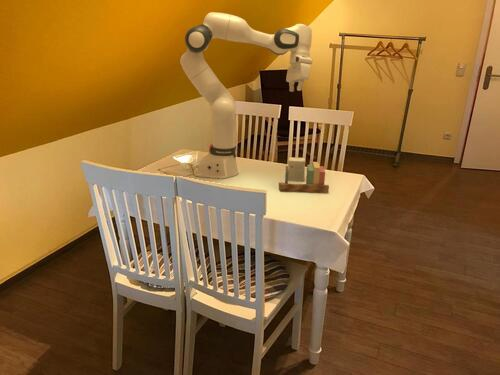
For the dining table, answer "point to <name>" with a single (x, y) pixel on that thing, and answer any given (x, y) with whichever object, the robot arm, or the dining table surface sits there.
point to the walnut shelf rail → (304, 188)
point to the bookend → (285, 176)
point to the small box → (296, 169)
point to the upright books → (315, 174)
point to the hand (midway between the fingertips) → (295, 91)
